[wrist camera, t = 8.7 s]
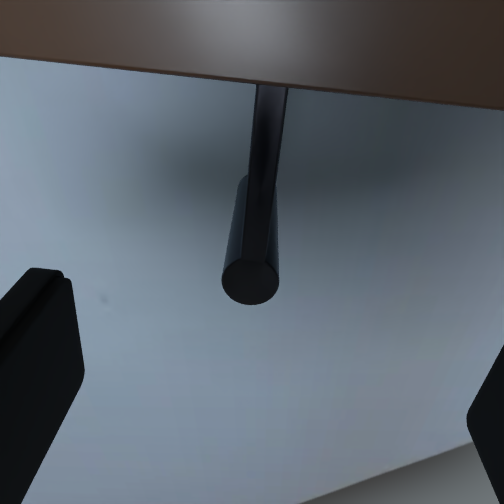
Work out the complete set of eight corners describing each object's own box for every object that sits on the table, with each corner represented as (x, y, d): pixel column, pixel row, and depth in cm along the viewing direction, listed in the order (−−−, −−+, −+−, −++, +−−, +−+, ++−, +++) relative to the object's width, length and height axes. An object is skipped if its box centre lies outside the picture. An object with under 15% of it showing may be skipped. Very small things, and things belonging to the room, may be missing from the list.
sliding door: (316, 21, 16) (364, 47, 8) (289, 198, 19) (303, 345, 11) (118, -1, 16) (-48, 1, 7) (128, 181, 19) (22, 317, 11)
